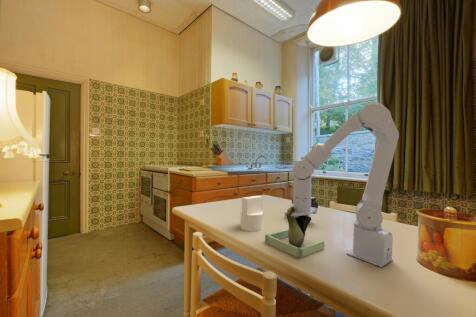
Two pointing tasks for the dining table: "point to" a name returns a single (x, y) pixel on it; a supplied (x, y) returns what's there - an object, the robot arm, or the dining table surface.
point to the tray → (293, 250)
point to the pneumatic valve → (312, 203)
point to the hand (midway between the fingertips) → (300, 237)
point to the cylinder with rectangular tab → (252, 213)
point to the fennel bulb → (294, 229)
